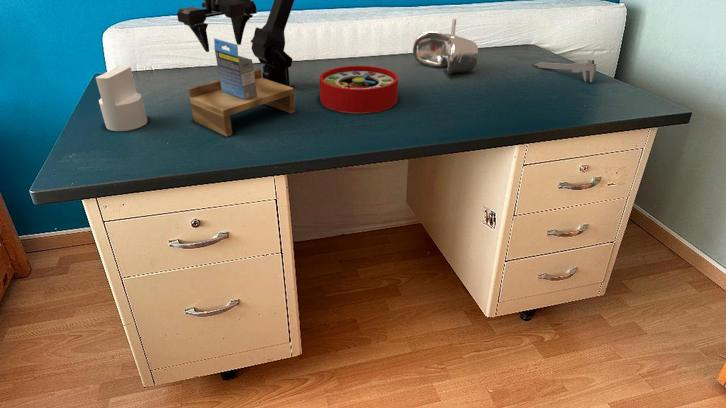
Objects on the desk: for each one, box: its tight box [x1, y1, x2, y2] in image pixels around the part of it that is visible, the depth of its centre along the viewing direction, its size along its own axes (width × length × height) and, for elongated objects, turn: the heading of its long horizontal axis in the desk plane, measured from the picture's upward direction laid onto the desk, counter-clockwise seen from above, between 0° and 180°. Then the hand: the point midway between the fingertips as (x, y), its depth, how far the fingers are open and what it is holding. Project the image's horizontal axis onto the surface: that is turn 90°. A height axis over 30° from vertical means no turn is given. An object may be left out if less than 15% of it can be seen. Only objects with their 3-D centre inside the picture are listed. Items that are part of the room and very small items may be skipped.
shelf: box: [187, 68, 296, 137], centre depth 118 cm, size 20×13×8 cm, turn 138°
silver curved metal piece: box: [412, 18, 479, 76], centre depth 150 cm, size 18×11×14 cm, turn 33°
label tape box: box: [213, 37, 257, 100], centre depth 113 cm, size 9×4×12 cm, turn 49°
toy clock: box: [318, 65, 399, 114], centre depth 129 cm, size 20×6×20 cm
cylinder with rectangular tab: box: [95, 65, 149, 132], centre depth 113 cm, size 9×9×12 cm
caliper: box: [534, 59, 597, 83], centre depth 148 cm, size 20×1×6 cm, turn 33°
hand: (223, 48), depth 124 cm, fingers open, 9 cm apart
